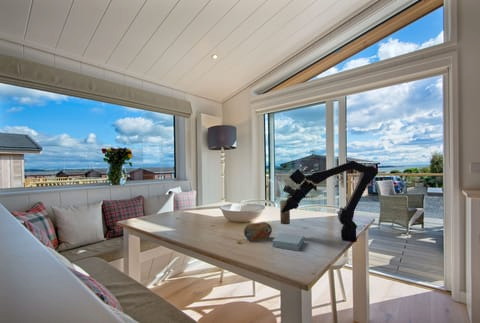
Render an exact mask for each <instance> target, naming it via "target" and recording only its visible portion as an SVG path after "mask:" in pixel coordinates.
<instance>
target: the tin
mask: <svg viewBox="0 0 480 323" xmlns="http://www.w3.org/2000/svg"><path fill="white" fill-rule="evenodd" d="M272 232H273V229H272V226H271V224H269V223H268V222H265V221H262V222H261V221H259V222H253V223H252V222H251V223H248V224H247V225H245V227H244V228H243V235H244V237H245V238H246V239H247V240H248V241H256V240H265V239H268V238H269V237H270V236H271V235H272Z"/></svg>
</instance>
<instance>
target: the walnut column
mask: <svg viewBox="0 0 480 323" xmlns="http://www.w3.org/2000/svg"><path fill="white" fill-rule="evenodd" d="M286 204H287V199H286V200H284V199H281V200H279V209H280V224H281V225H290V224H291V216H290V215H291V213H290V211H291V210H289V211H286V212H283V213H282V212H281V211H282V209H283V208H284V207H285V205H286Z"/></svg>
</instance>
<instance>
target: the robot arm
mask: <svg viewBox="0 0 480 323" xmlns="http://www.w3.org/2000/svg"><path fill="white" fill-rule="evenodd" d="M350 170H353V171H356V172H358V173H359V176H358V178H359V180H358V182H357V184H356V186H355V188H354V190H353V191H352V193H351V195H350V197H349V199H348V201H347V203H346V205H345V206H343V207H342V206H340V208H339V210H338V212H337V219H338V221H339V224H341V225H342V228H341V231H340V234H341V236H340V238H341V240H342V241H344V242H345V241H346V242H353V243H357V239H358V237H357V228H358V225H357V224H356V222H355V221H354V215H355V210H356V208H357V206H358V204H359V202H360V200H361V198H362V196H363V195H364V193H365V191H366V189H367V187H368V186H369V184H370V183H371V182H372V181H374V179H375V178H376V176H378V169H377V168H376V167H375V166H373V165H365V164H362V163H360V162H357V161H355V160H350V161H348V162H345V163H343V164H339V165H337V166H334V167H331V168H328V169H325V170H319V171H314V172H312V173H311V174H306V175H305V174H304V173H303V172H302V171H301V170H300V169H299V168H297V169H296V170H295V171H294V172H292V173H291V174H290V175H289V177H288V178H289V179H290V180H291V182H293V183H294V184H295V185H299V186H298V187H295V188H293V187H292V186H291V185H287V184H285V185H284V187H283V190H282V191H283V192H284V193H287V194H288V195H287V199H286V200H287V204H286V205H285V207H284V208H283V209H282V211H281V212H282V213H283V212H286V211H289V210H290V211H291V210H294V209H295V210H297V209H298V208H299V204H300V203H301V201H302V200H303V199H304V198H306V197H307V195H309V193H310V192H311V191H313V190H314V192H316V191H318V189H317V188H318V185H317V184H320V183H322V182H324V181H325V180H327V179H329V178H330V177H333V176H336V175H339V174H342V173H344V172H347V171H350ZM308 181H309V182H308ZM315 184H316V185H315Z"/></svg>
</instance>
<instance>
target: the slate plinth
mask: <svg viewBox="0 0 480 323" xmlns="http://www.w3.org/2000/svg"><path fill="white" fill-rule="evenodd" d="M304 239H305V238H304V235H297V234H289V233H282V232H280V233H279V234H278V235H276V237H274V238H273V239H272V248H277V249H279V248H280V249H285V250H291V251H299V250H300V248H301V247H302V246H303V244H304V243H305V242H304V241H305V240H304Z"/></svg>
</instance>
